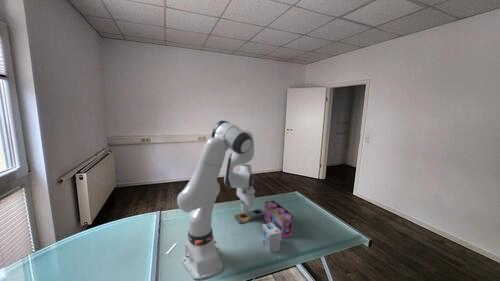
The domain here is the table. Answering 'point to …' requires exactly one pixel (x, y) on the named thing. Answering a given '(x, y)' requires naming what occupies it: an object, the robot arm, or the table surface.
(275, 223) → the pink product box
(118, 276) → the table surface
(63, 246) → the table surface
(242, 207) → the nut
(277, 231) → the light bulb box
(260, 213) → the rail
